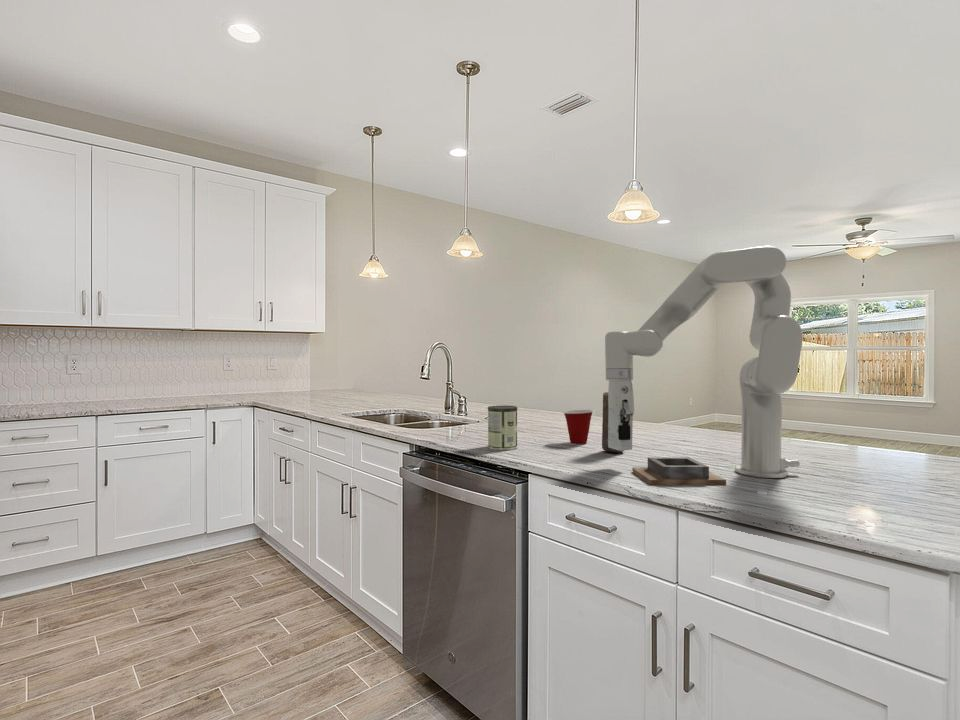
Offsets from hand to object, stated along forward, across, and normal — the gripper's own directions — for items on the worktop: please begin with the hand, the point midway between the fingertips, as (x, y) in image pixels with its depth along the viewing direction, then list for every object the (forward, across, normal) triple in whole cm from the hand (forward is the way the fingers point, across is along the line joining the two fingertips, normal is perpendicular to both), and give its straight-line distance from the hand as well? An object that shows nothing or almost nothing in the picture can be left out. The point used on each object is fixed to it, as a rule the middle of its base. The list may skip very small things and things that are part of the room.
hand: (620, 437), depth 146 cm
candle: (+9, +23, -4) cm, 25 cm away
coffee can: (+8, +32, +32) cm, 46 cm away
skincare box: (+4, 0, 0) cm, 4 cm away
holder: (+9, -12, -11) cm, 19 cm away
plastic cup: (+9, +41, +4) cm, 42 cm away
